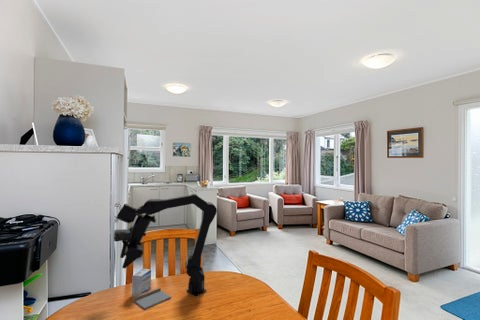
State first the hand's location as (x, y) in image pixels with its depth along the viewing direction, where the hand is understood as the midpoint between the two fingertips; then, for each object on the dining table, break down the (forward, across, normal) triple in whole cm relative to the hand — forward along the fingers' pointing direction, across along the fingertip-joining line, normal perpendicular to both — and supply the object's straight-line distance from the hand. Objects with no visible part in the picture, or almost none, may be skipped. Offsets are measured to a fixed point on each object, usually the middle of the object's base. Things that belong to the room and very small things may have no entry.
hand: (122, 262), depth 108 cm
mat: (+8, +9, +16) cm, 20 cm away
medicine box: (+10, +1, +13) cm, 17 cm away
